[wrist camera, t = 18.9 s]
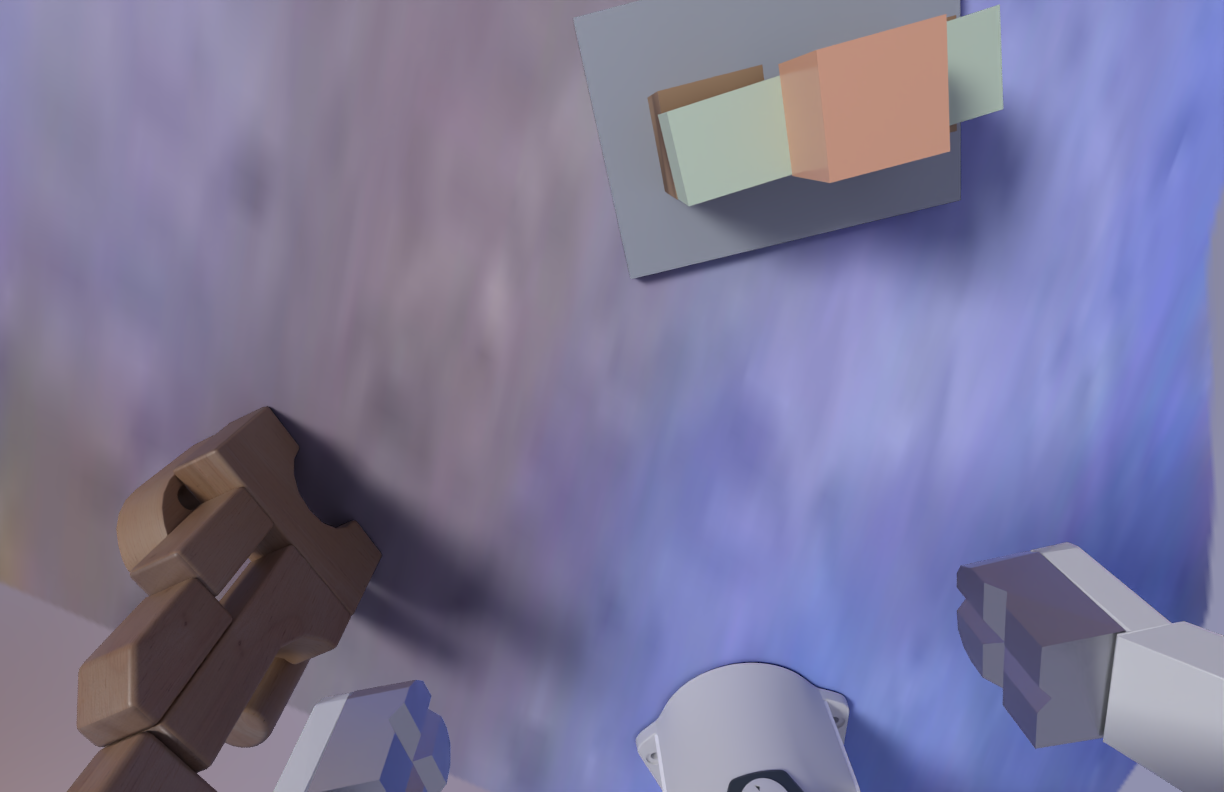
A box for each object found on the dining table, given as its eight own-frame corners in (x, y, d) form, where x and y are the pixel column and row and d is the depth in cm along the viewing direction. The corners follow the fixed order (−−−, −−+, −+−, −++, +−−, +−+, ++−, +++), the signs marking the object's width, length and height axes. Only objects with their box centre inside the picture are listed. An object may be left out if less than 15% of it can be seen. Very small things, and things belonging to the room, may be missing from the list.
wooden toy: (186, 443, 41) (-310, 824, 18) (268, 403, 41) (-146, 752, 18) (322, 602, 47) (72, 1044, 24) (396, 570, 46) (210, 998, 23)
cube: (893, 149, 27) (950, 151, 23) (792, 175, 27) (829, 183, 23) (886, 34, 25) (946, 13, 21) (778, 64, 25) (816, 49, 21)
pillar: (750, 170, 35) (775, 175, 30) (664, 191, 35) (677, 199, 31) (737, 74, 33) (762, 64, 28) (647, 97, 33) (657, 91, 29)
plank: (957, 112, 29) (1003, 109, 26) (678, 199, 30) (688, 206, 27) (951, 19, 28) (999, 4, 25) (657, 114, 29) (666, 112, 26)
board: (949, 198, 37) (960, 200, 36) (629, 275, 38) (630, 279, 37) (946, -77, 32) (959, -85, 31) (573, 21, 33) (573, 18, 32)
